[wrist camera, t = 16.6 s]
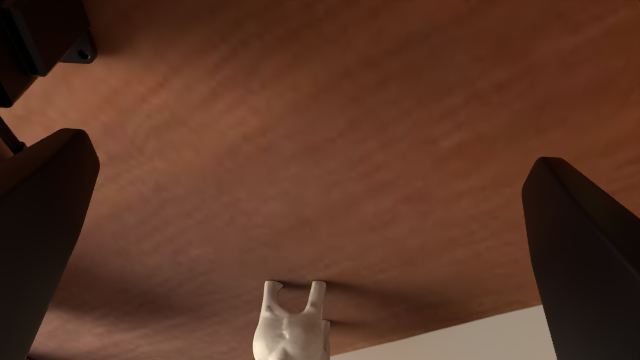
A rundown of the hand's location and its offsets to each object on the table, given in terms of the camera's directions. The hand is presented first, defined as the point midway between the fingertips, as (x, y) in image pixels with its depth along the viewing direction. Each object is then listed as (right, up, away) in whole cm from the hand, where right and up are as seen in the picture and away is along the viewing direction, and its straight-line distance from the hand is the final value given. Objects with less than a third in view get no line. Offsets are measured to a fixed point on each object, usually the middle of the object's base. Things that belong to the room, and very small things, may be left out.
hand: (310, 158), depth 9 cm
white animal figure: (-1, -12, +29) cm, 31 cm away
